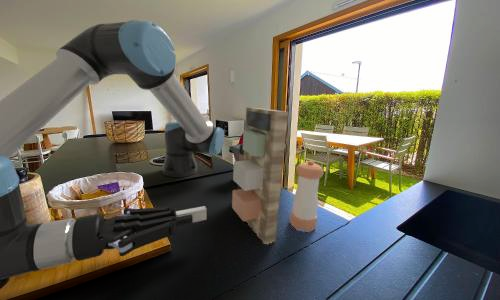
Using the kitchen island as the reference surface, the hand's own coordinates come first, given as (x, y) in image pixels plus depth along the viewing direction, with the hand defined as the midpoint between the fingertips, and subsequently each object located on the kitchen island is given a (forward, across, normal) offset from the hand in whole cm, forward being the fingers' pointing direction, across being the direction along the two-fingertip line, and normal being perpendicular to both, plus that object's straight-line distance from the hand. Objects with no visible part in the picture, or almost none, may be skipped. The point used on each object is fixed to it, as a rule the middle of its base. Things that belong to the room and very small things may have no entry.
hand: (205, 212), depth 47 cm
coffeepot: (+26, -31, -8) cm, 42 cm away
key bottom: (+11, 0, -2) cm, 11 cm away
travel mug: (+18, -13, -8) cm, 24 cm away
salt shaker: (+27, +4, -8) cm, 29 cm away
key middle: (+11, 0, +6) cm, 12 cm away
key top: (+13, 0, +14) cm, 19 cm away
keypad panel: (+14, 0, -8) cm, 16 cm away
